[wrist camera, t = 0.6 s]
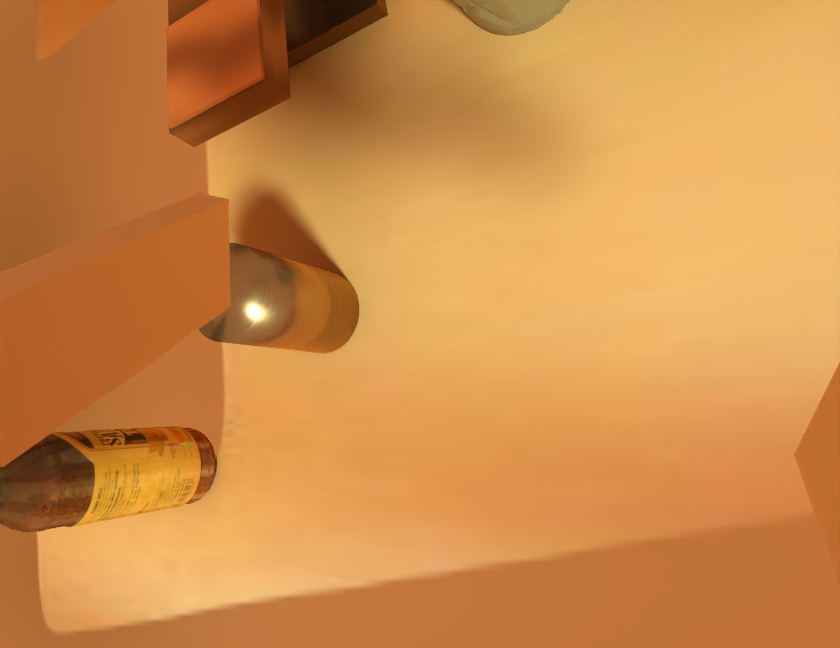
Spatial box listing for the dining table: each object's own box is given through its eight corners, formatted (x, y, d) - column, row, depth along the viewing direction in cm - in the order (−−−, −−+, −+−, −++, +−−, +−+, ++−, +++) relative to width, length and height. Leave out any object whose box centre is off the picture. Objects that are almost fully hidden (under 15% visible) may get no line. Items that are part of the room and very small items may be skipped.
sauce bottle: (217, 420, 51) (-65, 429, 34) (224, 500, 50) (-65, 553, 32) (159, 432, 54) (-128, 446, 37) (165, 508, 53) (-130, 561, 35)
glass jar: (310, 261, 48) (210, 230, 40) (371, 288, 46) (278, 261, 37) (282, 335, 49) (177, 320, 40) (340, 366, 46) (241, 357, 37)
